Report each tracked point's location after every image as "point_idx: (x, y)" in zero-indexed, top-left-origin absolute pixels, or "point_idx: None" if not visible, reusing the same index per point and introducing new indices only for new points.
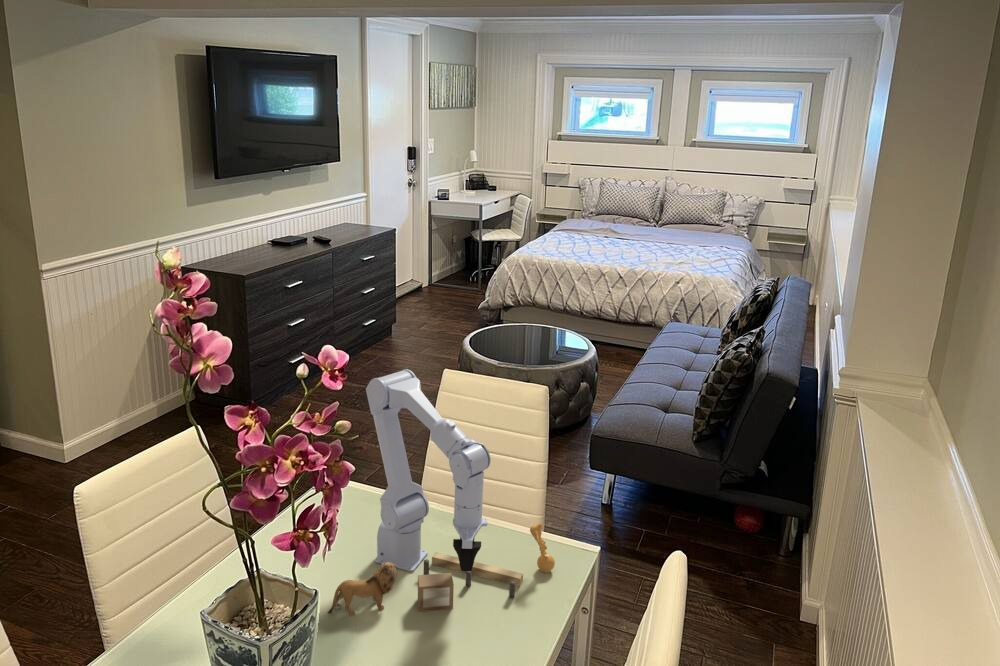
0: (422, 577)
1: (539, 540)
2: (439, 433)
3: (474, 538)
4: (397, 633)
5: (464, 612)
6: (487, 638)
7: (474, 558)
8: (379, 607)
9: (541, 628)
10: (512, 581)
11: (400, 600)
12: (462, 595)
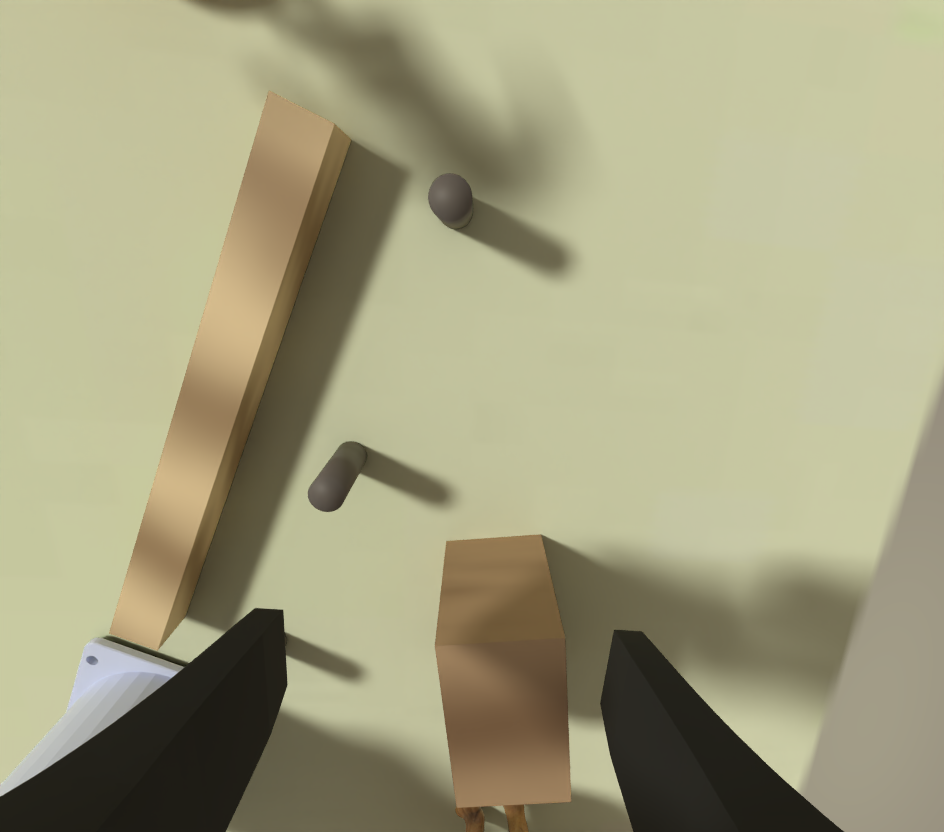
0: (478, 787)
1: None
2: None
3: (208, 695)
4: None
5: (574, 484)
6: (795, 385)
7: (777, 776)
8: (523, 804)
9: (786, 39)
10: (434, 195)
11: None
12: (436, 487)
